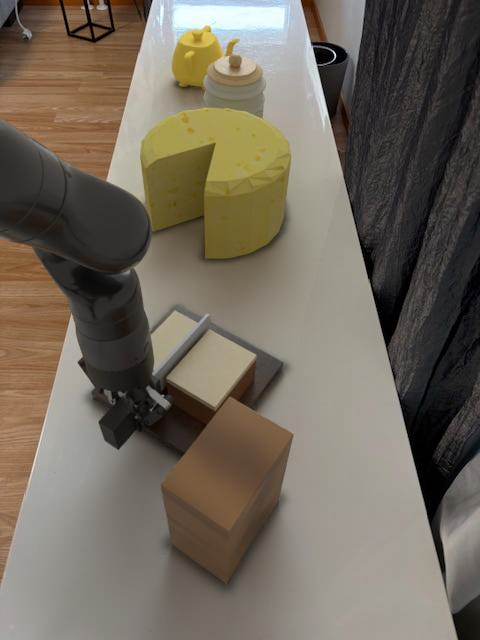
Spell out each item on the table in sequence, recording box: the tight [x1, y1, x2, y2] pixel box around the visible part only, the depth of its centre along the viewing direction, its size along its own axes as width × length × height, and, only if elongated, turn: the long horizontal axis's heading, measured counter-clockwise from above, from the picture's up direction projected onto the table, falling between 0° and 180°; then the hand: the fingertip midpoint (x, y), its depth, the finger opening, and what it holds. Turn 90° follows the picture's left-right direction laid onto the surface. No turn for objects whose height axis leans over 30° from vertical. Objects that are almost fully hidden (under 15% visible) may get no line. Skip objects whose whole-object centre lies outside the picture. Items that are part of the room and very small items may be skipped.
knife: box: [97, 312, 211, 451], centre depth 75 cm, size 22×2×5 cm, turn 147°
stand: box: [159, 397, 295, 584], centre depth 62 cm, size 12×8×18 cm, turn 147°
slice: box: [151, 311, 198, 392], centre depth 80 cm, size 10×4×6 cm, turn 147°
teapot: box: [171, 24, 241, 91], centre depth 133 cm, size 14×14×12 cm
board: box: [90, 304, 284, 457], centre depth 82 cm, size 20×20×2 cm
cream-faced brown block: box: [166, 329, 257, 425], centre depth 77 cm, size 10×8×6 cm
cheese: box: [139, 107, 292, 260], centre depth 101 cm, size 26×26×15 cm
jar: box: [203, 52, 267, 118], centre depth 117 cm, size 13×13×18 cm
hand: (134, 419), depth 73 cm, fingers closed on knife, 2 cm apart
